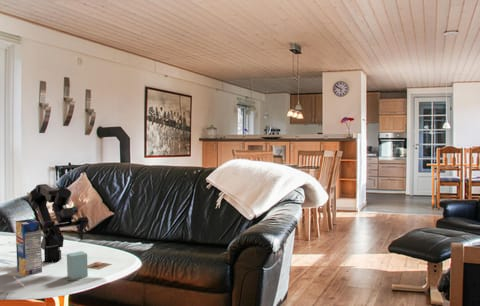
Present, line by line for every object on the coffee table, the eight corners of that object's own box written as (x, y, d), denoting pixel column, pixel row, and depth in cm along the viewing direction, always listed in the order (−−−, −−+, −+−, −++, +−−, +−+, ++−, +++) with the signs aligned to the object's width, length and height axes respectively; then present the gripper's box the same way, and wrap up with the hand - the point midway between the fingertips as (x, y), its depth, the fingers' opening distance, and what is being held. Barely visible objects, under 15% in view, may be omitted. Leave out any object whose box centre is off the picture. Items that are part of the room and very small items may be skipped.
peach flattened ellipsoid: (93, 266, 215) (93, 263, 214) (95, 264, 218) (95, 261, 217) (100, 266, 215) (100, 263, 215) (101, 264, 218) (101, 261, 218)
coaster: (82, 268, 214) (82, 267, 214) (96, 263, 222) (96, 262, 222) (98, 270, 210) (98, 269, 210) (112, 265, 218) (112, 264, 218)
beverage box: (25, 276, 204) (23, 224, 203) (17, 270, 212) (15, 220, 211) (42, 272, 208) (40, 222, 207) (33, 267, 216) (31, 218, 215)
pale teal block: (67, 276, 201) (66, 253, 201) (82, 273, 205) (82, 251, 205) (72, 279, 197) (71, 256, 196) (87, 276, 201) (87, 253, 200)
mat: (61, 277, 202) (61, 276, 202) (85, 272, 208) (85, 271, 208) (69, 283, 194) (69, 282, 194) (93, 278, 200) (93, 277, 200)
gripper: (43, 203, 205) (53, 232, 197) (86, 198, 217) (97, 225, 208) (38, 219, 211) (47, 248, 203) (80, 214, 223) (90, 241, 215)
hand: (71, 240), depth 207 cm, fingers open, 9 cm apart
